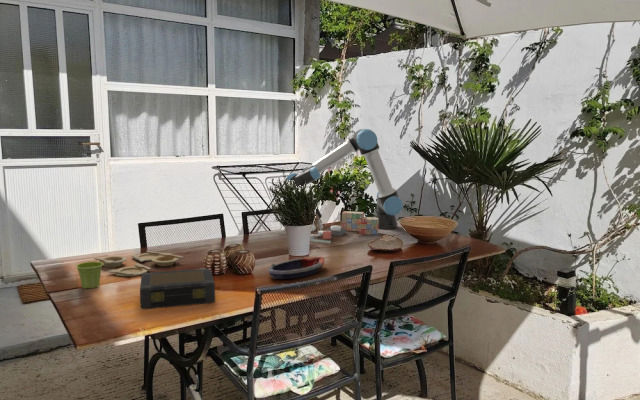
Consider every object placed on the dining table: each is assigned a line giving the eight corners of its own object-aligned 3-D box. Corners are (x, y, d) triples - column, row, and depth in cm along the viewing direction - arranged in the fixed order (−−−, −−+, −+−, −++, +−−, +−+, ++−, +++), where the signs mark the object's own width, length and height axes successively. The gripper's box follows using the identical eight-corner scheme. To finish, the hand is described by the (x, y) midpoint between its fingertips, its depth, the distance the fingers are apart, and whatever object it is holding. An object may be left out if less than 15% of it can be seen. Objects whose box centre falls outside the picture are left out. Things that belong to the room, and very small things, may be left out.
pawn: (319, 233, 281) (320, 213, 280) (315, 234, 277) (317, 214, 276) (311, 231, 283) (312, 212, 282) (307, 233, 279) (308, 213, 278)
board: (346, 235, 289) (346, 228, 289) (331, 243, 267) (331, 236, 267) (319, 232, 296) (319, 225, 295) (302, 240, 274) (303, 233, 273)
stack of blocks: (378, 233, 297) (379, 212, 295) (376, 235, 291) (377, 214, 289) (343, 230, 303) (344, 210, 301) (341, 232, 297) (341, 212, 295)
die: (331, 237, 276) (331, 230, 276) (330, 239, 272) (330, 231, 272) (324, 237, 277) (324, 229, 276) (322, 239, 273) (323, 231, 272)
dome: (342, 231, 287) (342, 225, 286) (338, 233, 281) (338, 227, 281) (332, 231, 289) (332, 225, 289) (329, 232, 284) (329, 226, 283)
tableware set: (122, 281, 200) (121, 271, 200) (85, 268, 218) (84, 259, 217) (192, 263, 228) (192, 254, 227) (154, 253, 246) (154, 245, 245)
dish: (258, 276, 208) (258, 264, 207) (312, 263, 229) (312, 252, 228) (282, 285, 197) (282, 272, 196) (336, 270, 218) (336, 259, 217)
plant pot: (96, 281, 198) (95, 260, 197) (108, 286, 192) (107, 264, 191) (73, 286, 191) (71, 265, 190) (84, 292, 185) (83, 269, 184)
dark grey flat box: (210, 286, 194) (210, 267, 193) (215, 303, 175) (215, 282, 174) (142, 292, 187) (141, 272, 186) (140, 310, 168) (139, 288, 167)
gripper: (310, 199, 296) (327, 231, 285) (286, 201, 285) (302, 234, 274) (316, 191, 291) (333, 223, 280) (291, 193, 280) (308, 226, 269)
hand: (318, 229), depth 277 cm, fingers closed on pawn, 4 cm apart
